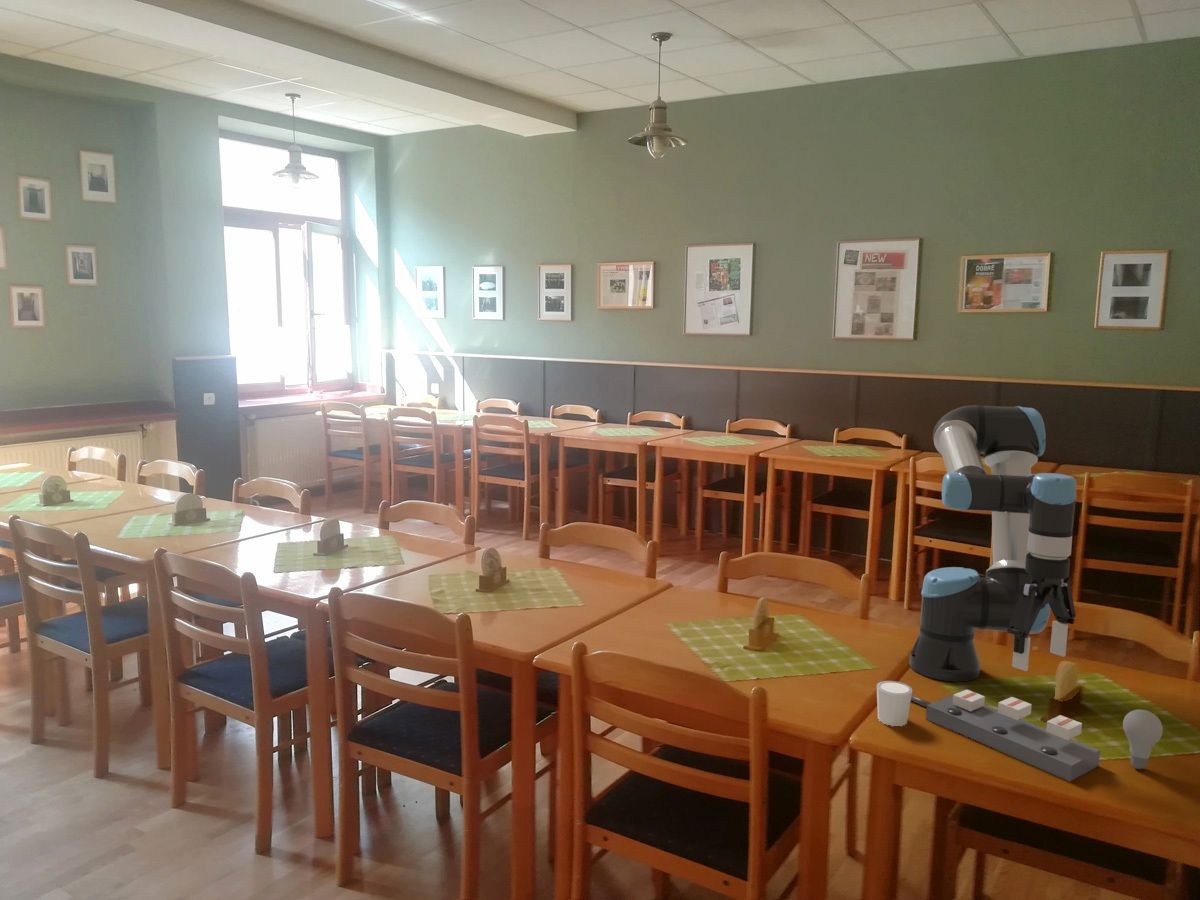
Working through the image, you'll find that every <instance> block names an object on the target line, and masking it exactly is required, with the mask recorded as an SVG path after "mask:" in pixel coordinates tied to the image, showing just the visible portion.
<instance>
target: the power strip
mask: <svg viewBox="0 0 1200 900" xmlns="http://www.w3.org/2000/svg"><path fill="white" fill-rule="evenodd" d="M953 695H954V694H952V695H950V696H949V695H948V696H947V697H944V698H942V699H939V700H937V701H933V702H930V701H928V700H925V699H922V698H920V697H918V696H915V695H913V694H912V696H911V702H912V701H913V703H915V704H918V705H920V706H921V707H922V706H923V707H925V708H926V712H925V720H927V719H928V720H927V721H929V722H930V723H933V722H934V724H936V725H938V726H940V725H941V726H940V727H943V728H945V729H948V730H950V731H952V730H953V731H952V732H954V731H955V732H954V733H956V732H957V734H959V733H960V734H959V735H961V734H962V735H961V736H963V735H964V736H963V737H966V738H968V737H969V738H968V739H970V738H971V740H973V739H974V740H973V741H975V740H976V741H975V742H977V741H978V742H977V743H979V742H981V743H980V744H982V743H983V744H982V745H984V744H985V745H984V746H986V745H988V746H987V747H989V748H991V747H992V748H991V749H993V748H994V749H993V750H996V751H999V752H1001V753H1003V754H1004V755H1007V756H1009V757H1012V758H1014V759H1016V760H1019V761H1021V762H1023V763H1026V764H1028V765H1029V766H1033V767H1034V768H1037V769H1040V770H1042V771H1044V772H1047V773H1049V774H1051V775H1053V776H1056V777H1058V778H1060V779H1063V780H1065V781H1067V782H1069V783H1070V782H1072V781H1074V780H1075V779H1077V778H1079V777H1081V776H1083V775H1084V774H1086V773H1089V772H1090V771H1092V770H1094V769H1095V768H1097V767H1099V766H1100V765H1099V764H1100V755H1101V750H1100V749H1098V748H1095V747H1093V746H1090V745H1087V744H1085V743H1082V742H1080V741H1077V740H1075V739H1074V738H1071V739H1069V740H1066V739H1064V738H1061V737H1059V736H1056V735H1054V734H1051V733H1048V732H1046V728H1044V727H1042V726H1040V725H1037V724H1035V723H1032V722H1029V721H1027V720H1024V719H1023V718H1021V719H1019V720H1016V719H1013V718H1011V717H1008V716H1006V715H1003V714H1001V713H998V708H993V707H991V706H989V705H986V704H984V706H983V707H980V708H978V709H976V710H973V711H968V710H966V709H963V708H961V707H958V706H956V705H954V704H953Z"/></svg>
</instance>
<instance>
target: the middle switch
mask: <svg viewBox="0 0 1200 900" xmlns="http://www.w3.org/2000/svg"><path fill="white" fill-rule="evenodd" d="M1032 706H1033V705H1032V703H1029V702H1027V701H1024V700H1022V699H1019V698H1017V697H1013V696H1010V697H1009V698H1005V699H1003V700H1001V701H999V702H998V704H997V710H998V713H1001V714H1003V715H1006V716H1008V717H1011V718H1013V719H1016V720H1019V719H1024V718H1025V717H1027V716H1029V715H1032Z"/></svg>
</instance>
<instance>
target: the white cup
mask: <svg viewBox="0 0 1200 900" xmlns="http://www.w3.org/2000/svg"><path fill="white" fill-rule="evenodd" d="M912 695H913V688H912V687H911V686H909V685H908V684H906V683H904V682H900V681H895V680H894V681H893V680H883V681H879V682H878V683H876V704H877V705H876V707H877V720H878V719H879V720H878V721H879V722H880V721H881V722H882V723H881V722H880V723H881V724H883V725H885V724H886V726H888V725H891V726H890V727H894V726H900V727H903V725H904V726H906V725H907V724H908V719H909V713H910V712H909V711H910V707H911V702H912V701H911V696H912ZM905 724H906V725H905Z"/></svg>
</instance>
